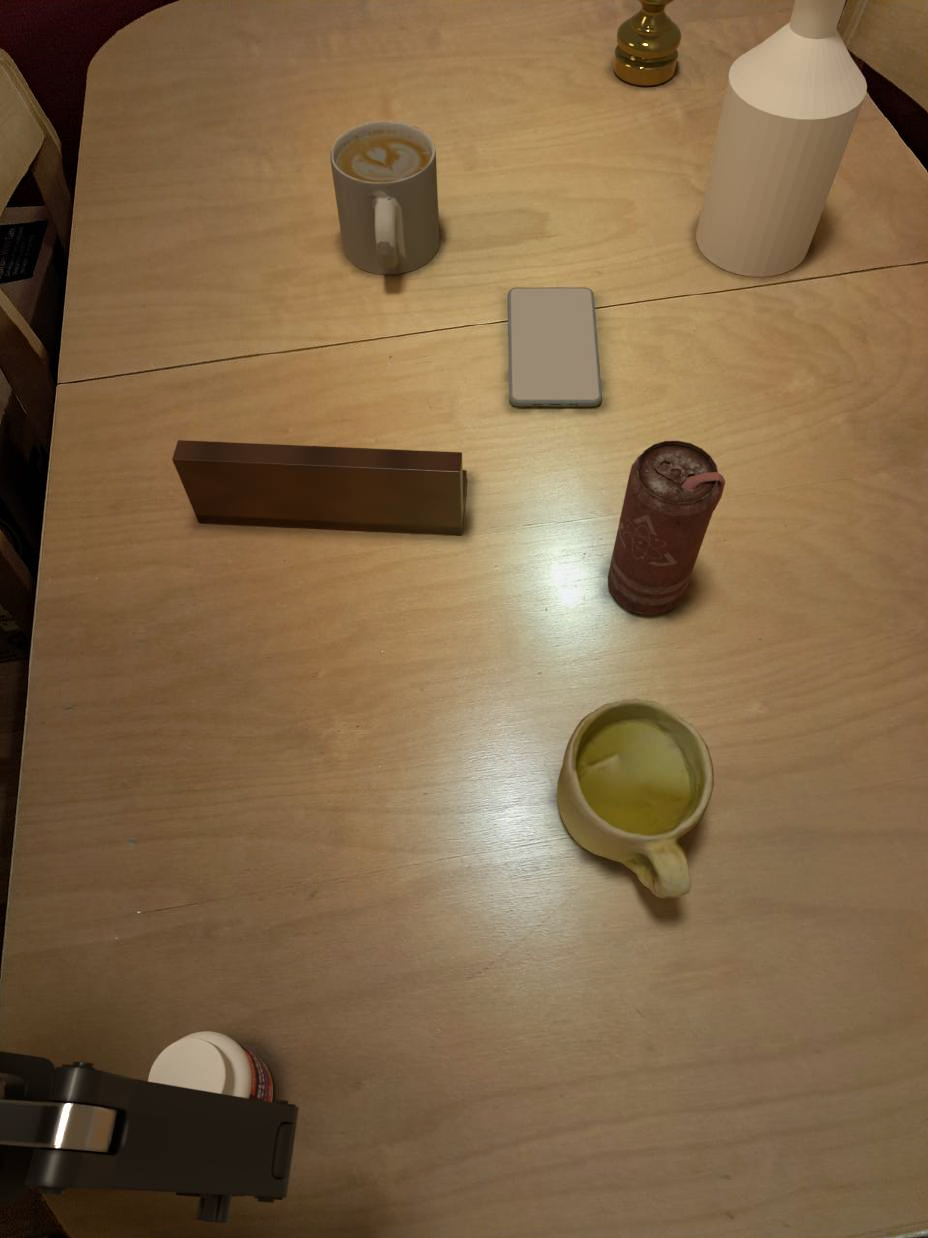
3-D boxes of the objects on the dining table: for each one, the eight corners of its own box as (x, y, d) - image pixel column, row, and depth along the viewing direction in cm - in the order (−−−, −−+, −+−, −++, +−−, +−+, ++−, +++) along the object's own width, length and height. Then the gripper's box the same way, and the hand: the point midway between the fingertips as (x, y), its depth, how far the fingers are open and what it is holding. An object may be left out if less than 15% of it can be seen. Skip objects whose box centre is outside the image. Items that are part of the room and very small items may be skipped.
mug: (522, 724, 66) (582, 686, 57) (652, 732, 69) (728, 697, 60) (529, 905, 62) (594, 895, 53) (667, 905, 65) (751, 896, 56)
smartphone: (509, 401, 84) (507, 286, 91) (509, 409, 84) (507, 294, 92) (603, 401, 83) (593, 285, 91) (601, 409, 84) (592, 294, 92)
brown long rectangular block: (198, 523, 78) (171, 459, 71) (213, 467, 81) (188, 401, 74) (462, 535, 77) (460, 472, 70) (466, 478, 80) (465, 412, 73)
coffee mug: (354, 208, 99) (343, 116, 91) (447, 216, 99) (444, 124, 90) (324, 292, 93) (309, 201, 84) (423, 302, 92) (418, 211, 83)
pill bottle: (293, 1097, 56) (260, 1081, 48) (220, 1170, 54) (173, 1167, 46) (238, 1027, 58) (197, 1000, 50) (165, 1095, 56) (111, 1079, 48)
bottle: (703, 280, 93) (770, 9, 71) (684, 205, 99) (741, -65, 78) (822, 276, 93) (925, 3, 72) (796, 201, 99) (883, -70, 78)
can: (692, 617, 73) (734, 505, 61) (610, 618, 73) (636, 506, 61) (682, 553, 76) (720, 434, 64) (603, 554, 76) (627, 436, 64)
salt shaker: (605, 57, 114) (616, -35, 105) (664, 50, 115) (679, -42, 106) (621, 90, 110) (634, -2, 102) (682, 83, 111) (700, -9, 102)
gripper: (321, 922, 19) (401, 1055, 37) (-828, 854, 20) (-207, 1014, 38) (254, 1399, 15) (380, 1287, 33) (-1164, 1279, 16) (-296, 1234, 34)
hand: (66, 1141), depth 36 cm, fingers open, 13 cm apart
